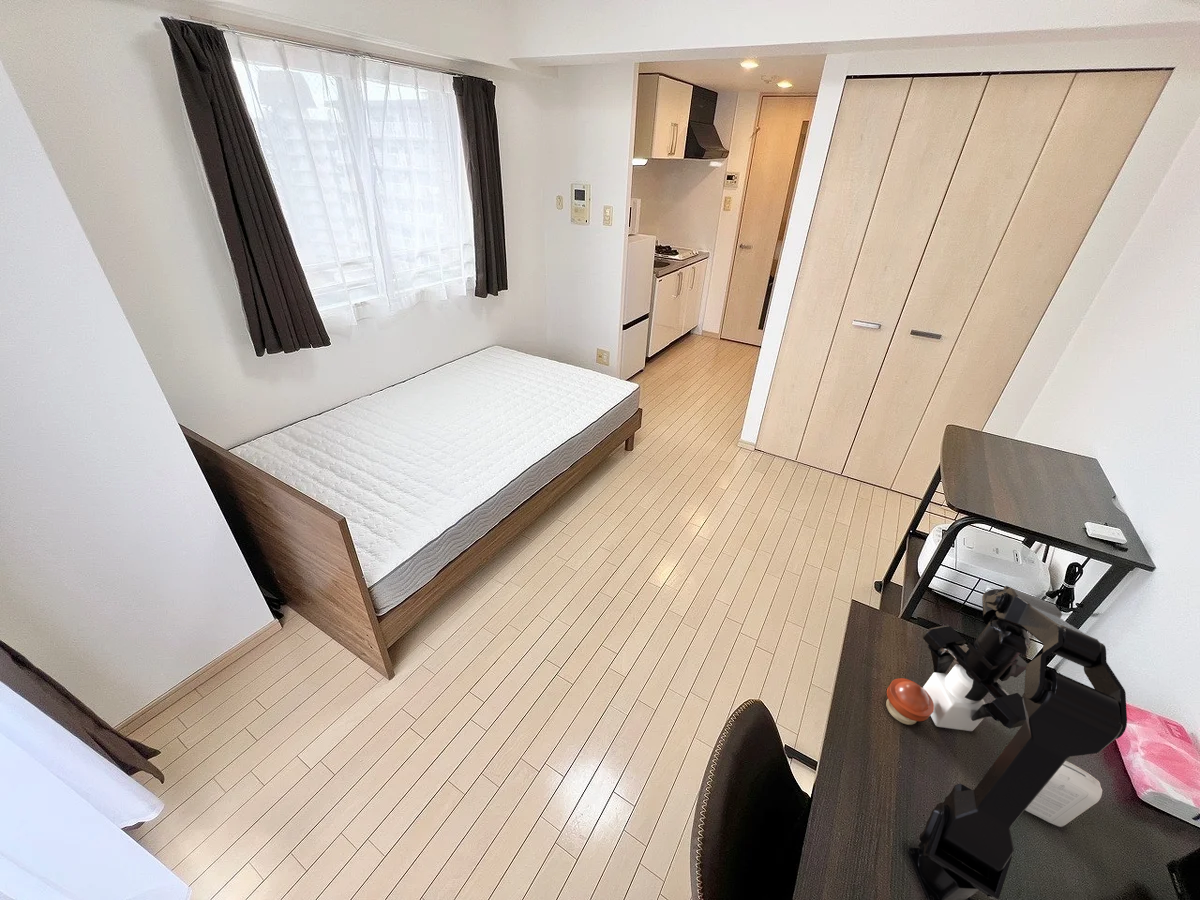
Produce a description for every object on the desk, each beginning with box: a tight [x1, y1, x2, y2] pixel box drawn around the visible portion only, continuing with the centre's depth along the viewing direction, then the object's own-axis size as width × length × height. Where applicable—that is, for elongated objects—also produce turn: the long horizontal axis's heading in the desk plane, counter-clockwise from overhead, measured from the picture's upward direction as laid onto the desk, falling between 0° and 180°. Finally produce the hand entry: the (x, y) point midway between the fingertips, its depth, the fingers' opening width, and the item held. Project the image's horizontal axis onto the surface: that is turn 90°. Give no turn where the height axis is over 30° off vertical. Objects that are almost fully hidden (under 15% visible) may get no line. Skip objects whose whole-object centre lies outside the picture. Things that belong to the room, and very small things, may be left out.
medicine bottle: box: [922, 662, 990, 732], centre depth 92 cm, size 7×7×12 cm
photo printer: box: [1024, 760, 1103, 828], centre depth 79 cm, size 10×4×12 cm, turn 60°
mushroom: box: [885, 677, 934, 726], centre depth 93 cm, size 8×8×7 cm
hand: (955, 698), depth 93 cm, fingers closed on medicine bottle, 8 cm apart
